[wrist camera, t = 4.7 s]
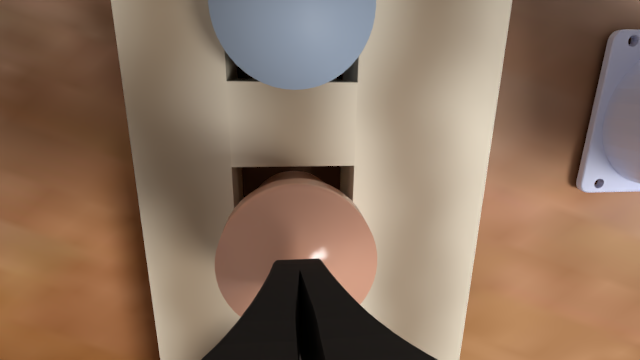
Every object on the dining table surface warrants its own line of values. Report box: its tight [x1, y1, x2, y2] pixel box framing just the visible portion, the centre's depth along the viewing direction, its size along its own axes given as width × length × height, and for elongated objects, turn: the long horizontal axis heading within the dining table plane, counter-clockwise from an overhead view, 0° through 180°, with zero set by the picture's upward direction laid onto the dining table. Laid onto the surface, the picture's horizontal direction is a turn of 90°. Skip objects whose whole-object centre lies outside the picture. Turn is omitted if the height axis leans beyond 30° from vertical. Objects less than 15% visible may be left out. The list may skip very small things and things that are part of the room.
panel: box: [111, 0, 512, 360], centre depth 17 cm, size 14×28×4 cm, turn 179°
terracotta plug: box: [215, 171, 377, 317], centre depth 14 cm, size 5×5×5 cm
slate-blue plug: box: [208, 0, 376, 90], centre depth 14 cm, size 5×5×5 cm
